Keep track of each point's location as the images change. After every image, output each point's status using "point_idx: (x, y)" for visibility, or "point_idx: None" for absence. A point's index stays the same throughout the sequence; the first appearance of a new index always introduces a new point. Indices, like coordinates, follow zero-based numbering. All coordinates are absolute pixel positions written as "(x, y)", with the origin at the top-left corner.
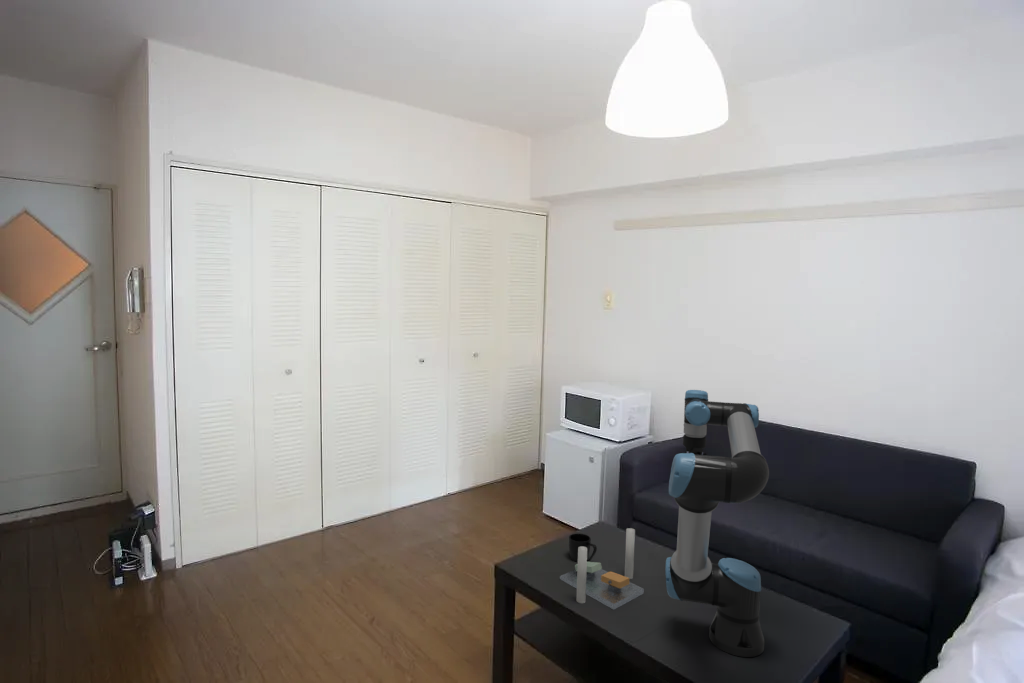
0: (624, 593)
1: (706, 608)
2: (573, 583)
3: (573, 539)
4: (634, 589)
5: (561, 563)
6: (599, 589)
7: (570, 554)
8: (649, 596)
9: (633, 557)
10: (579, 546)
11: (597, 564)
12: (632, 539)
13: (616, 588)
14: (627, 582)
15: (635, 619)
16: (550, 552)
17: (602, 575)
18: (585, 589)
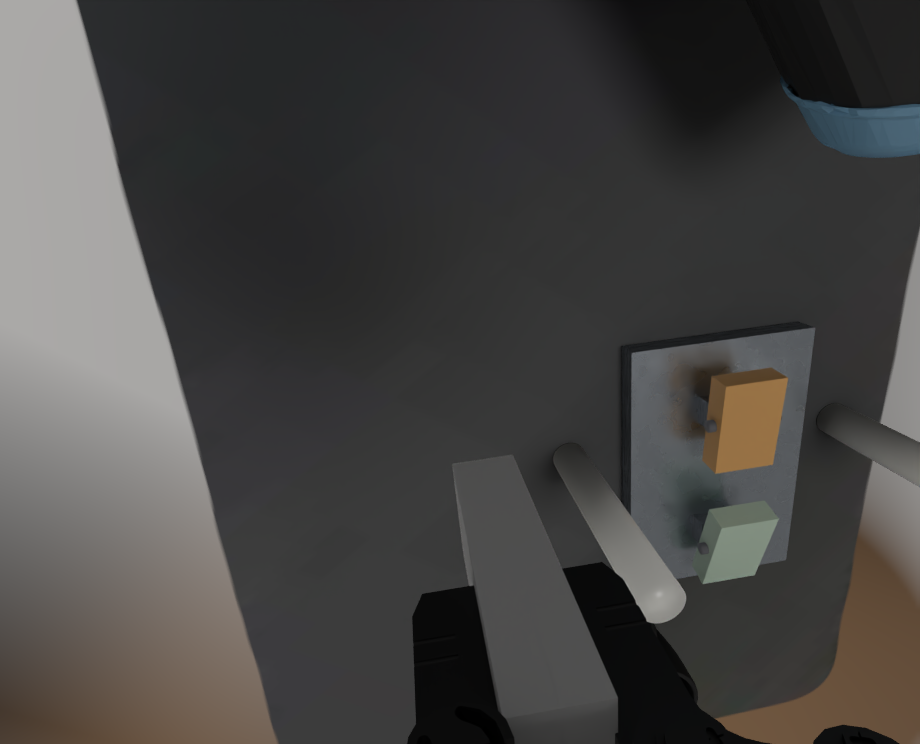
0: (721, 363)
1: (504, 121)
2: (791, 503)
3: None
4: (666, 366)
5: (668, 636)
6: None
7: None
8: (616, 323)
9: (598, 494)
10: (678, 660)
11: (742, 524)
12: (649, 550)
13: None
14: (729, 378)
15: (797, 231)
16: None
17: (770, 461)
18: (871, 424)
